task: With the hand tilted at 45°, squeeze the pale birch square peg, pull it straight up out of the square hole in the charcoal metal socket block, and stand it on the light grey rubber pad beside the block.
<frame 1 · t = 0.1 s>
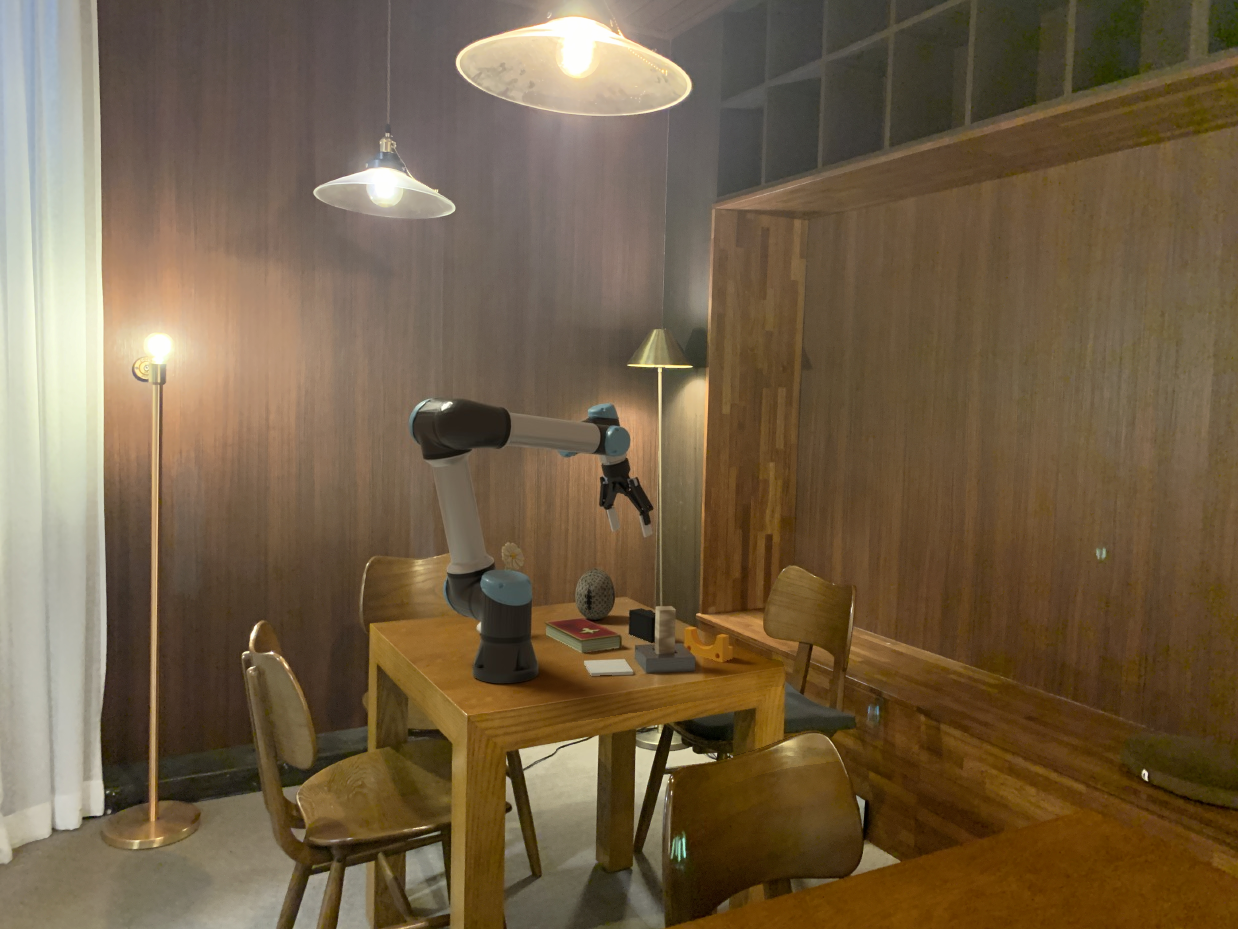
hand: (632, 532, 247), 28 cm above the table, tool tilted 20°, fingers open, 13 cm apart
flower in vase: (500, 634, 244), on the table
pipe clamp: (707, 657, 227), on the table
socket block: (664, 664, 218), on the table
birch peg: (664, 636, 217), in the socket block
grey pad: (608, 669, 213), on the table
decorative egg: (594, 620, 262), on the table
hardcover book: (582, 643, 238), on the table
black rectangular block: (647, 638, 243), on the table
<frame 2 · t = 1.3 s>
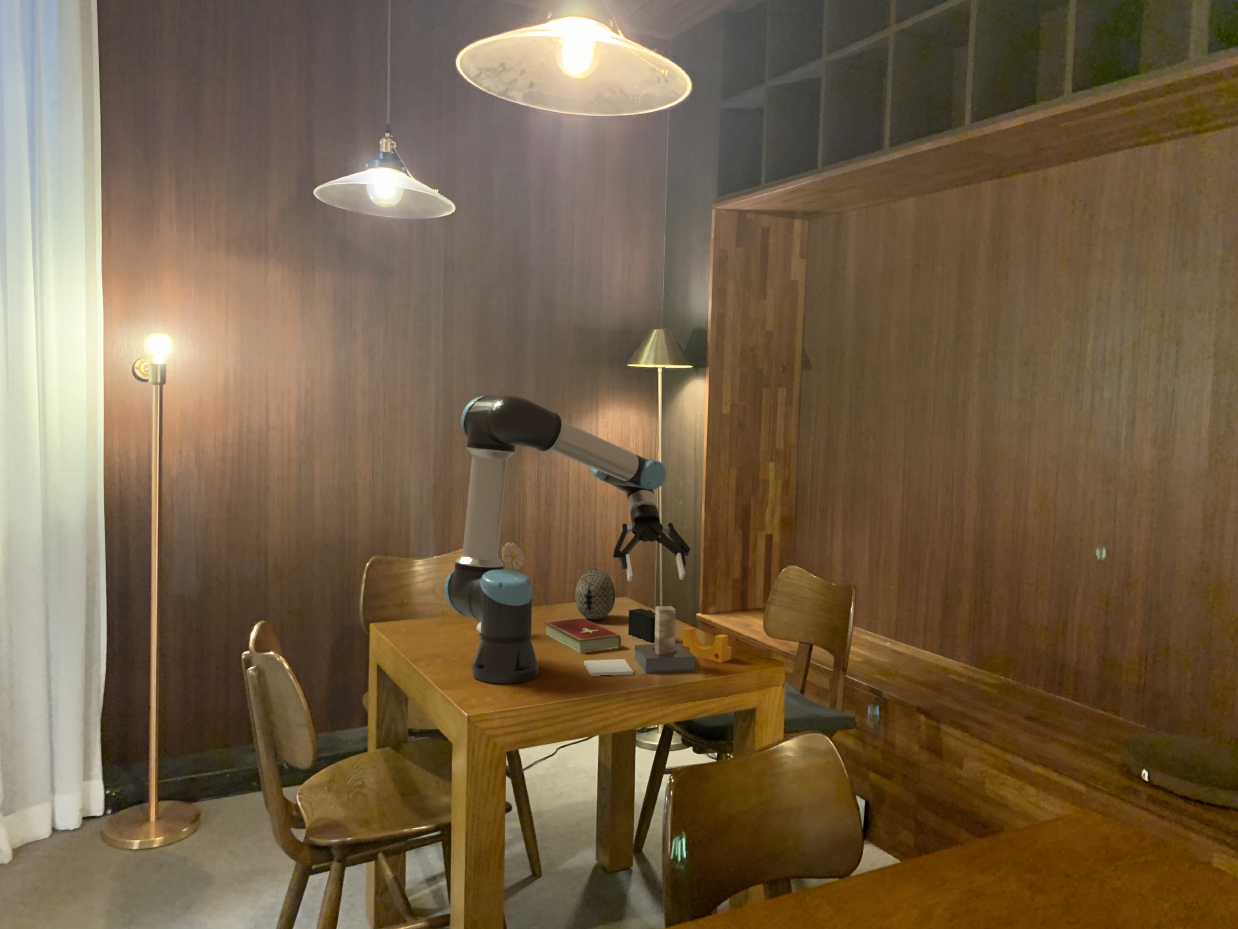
hand: (656, 578, 227), 19 cm above the table, tool tilted 45°, fingers open, 13 cm apart
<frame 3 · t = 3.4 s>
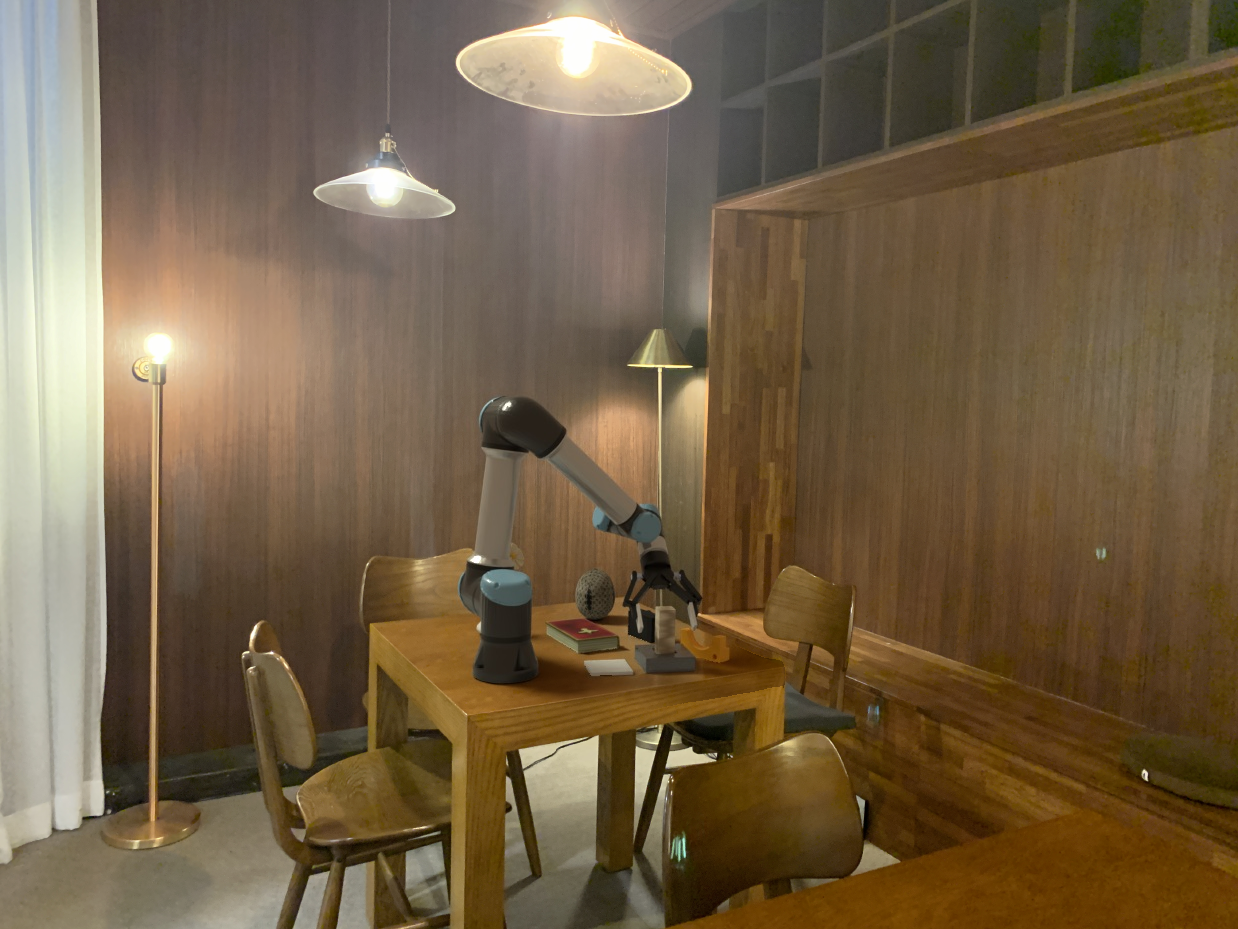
hand: (668, 629, 218), 9 cm above the table, tool tilted 45°, fingers open, 13 cm apart
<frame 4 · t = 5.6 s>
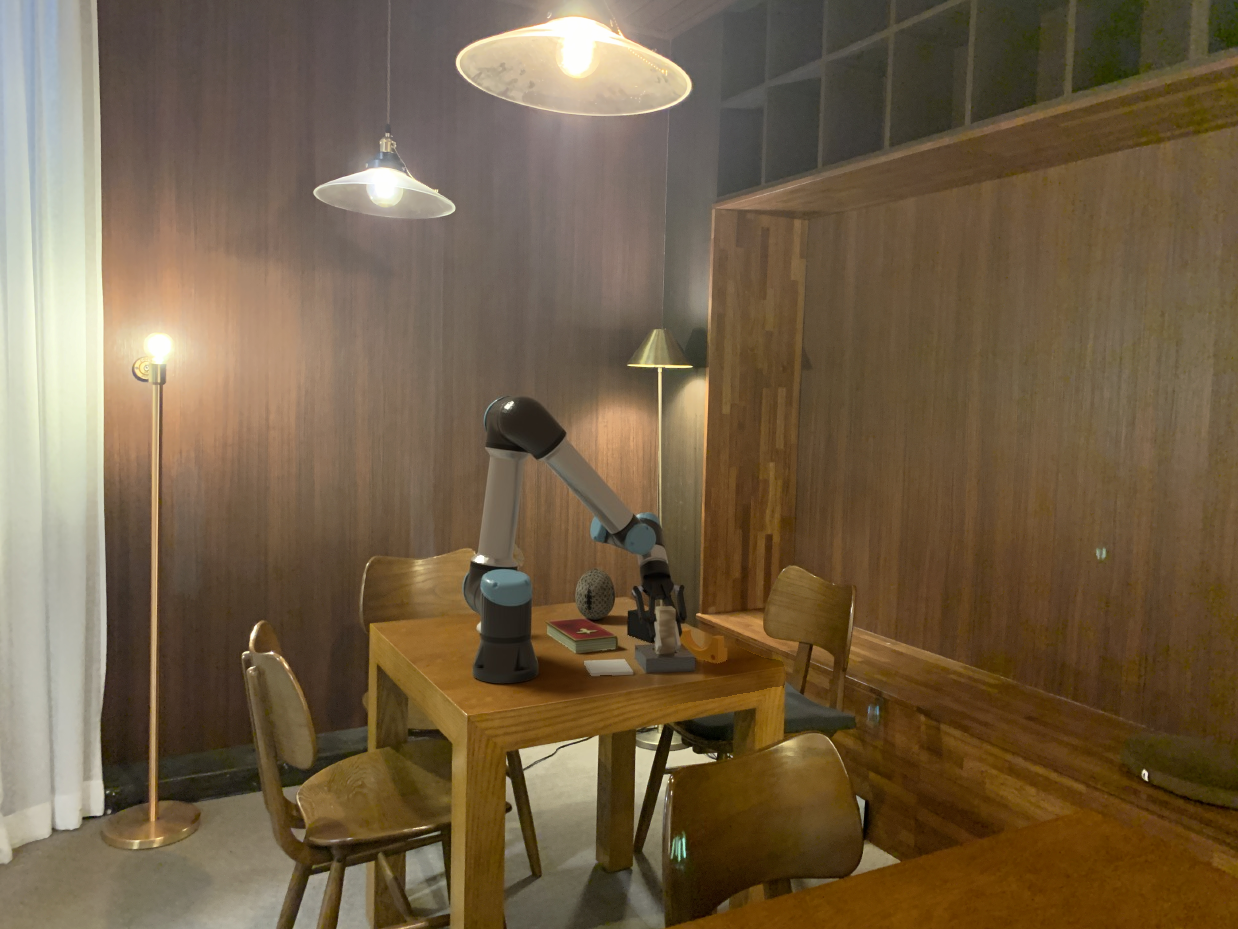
hand: (668, 648, 214), 5 cm above the table, tool tilted 45°, fingers closed on birch peg, 4 cm apart
birch peg: (664, 636, 217), in the socket block, touching gripper
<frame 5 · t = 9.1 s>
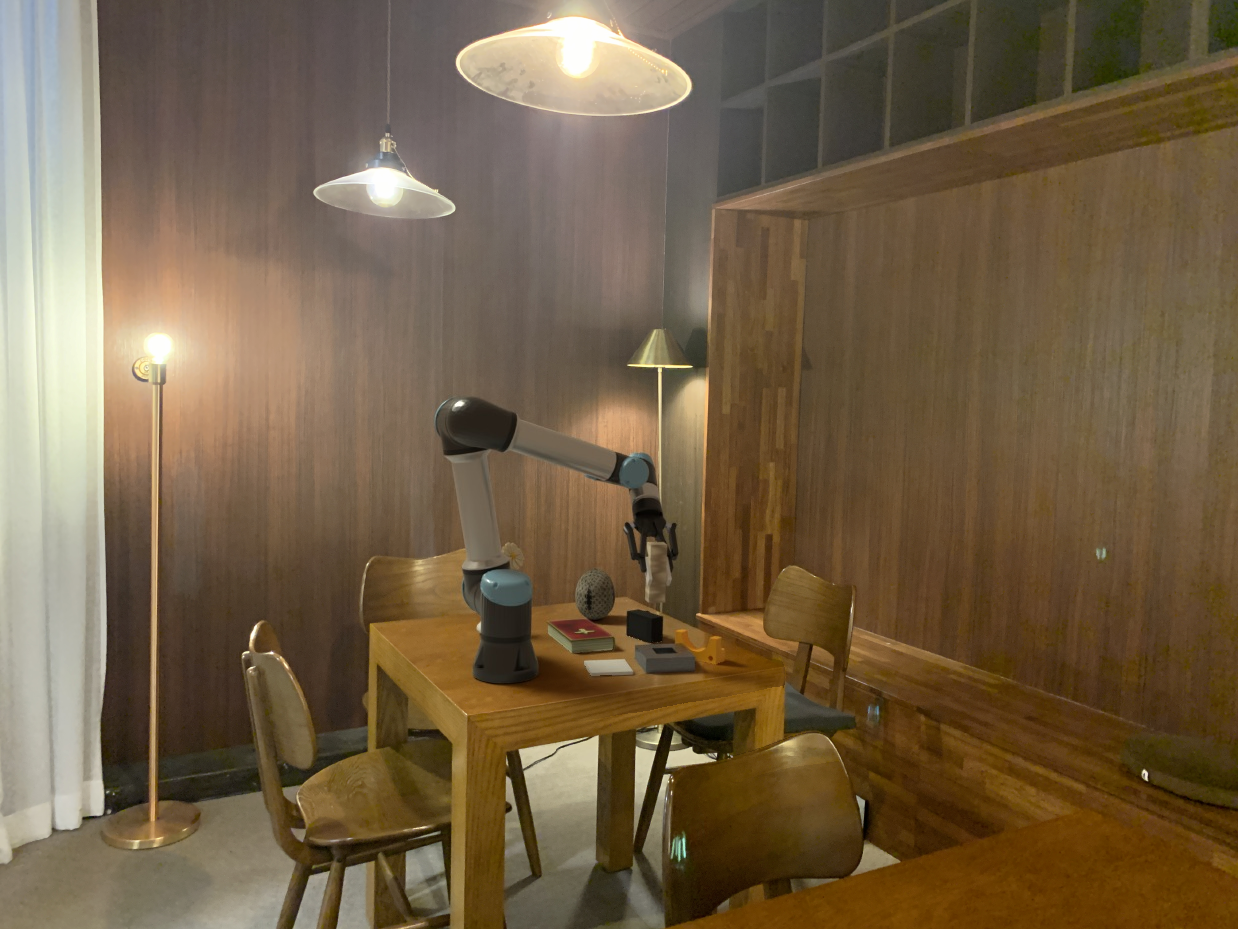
hand: (659, 582, 212), 21 cm above the table, tool tilted 45°, fingers closed on birch peg, 4 cm apart
pipe clamp: (699, 659, 224), on the table
birch peg: (656, 572, 215), point 23 cm above the table, touching gripper
when the fingers open (7 cm above the table, at t = 13.1 s): birch peg drops 1 cm, resting on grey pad.
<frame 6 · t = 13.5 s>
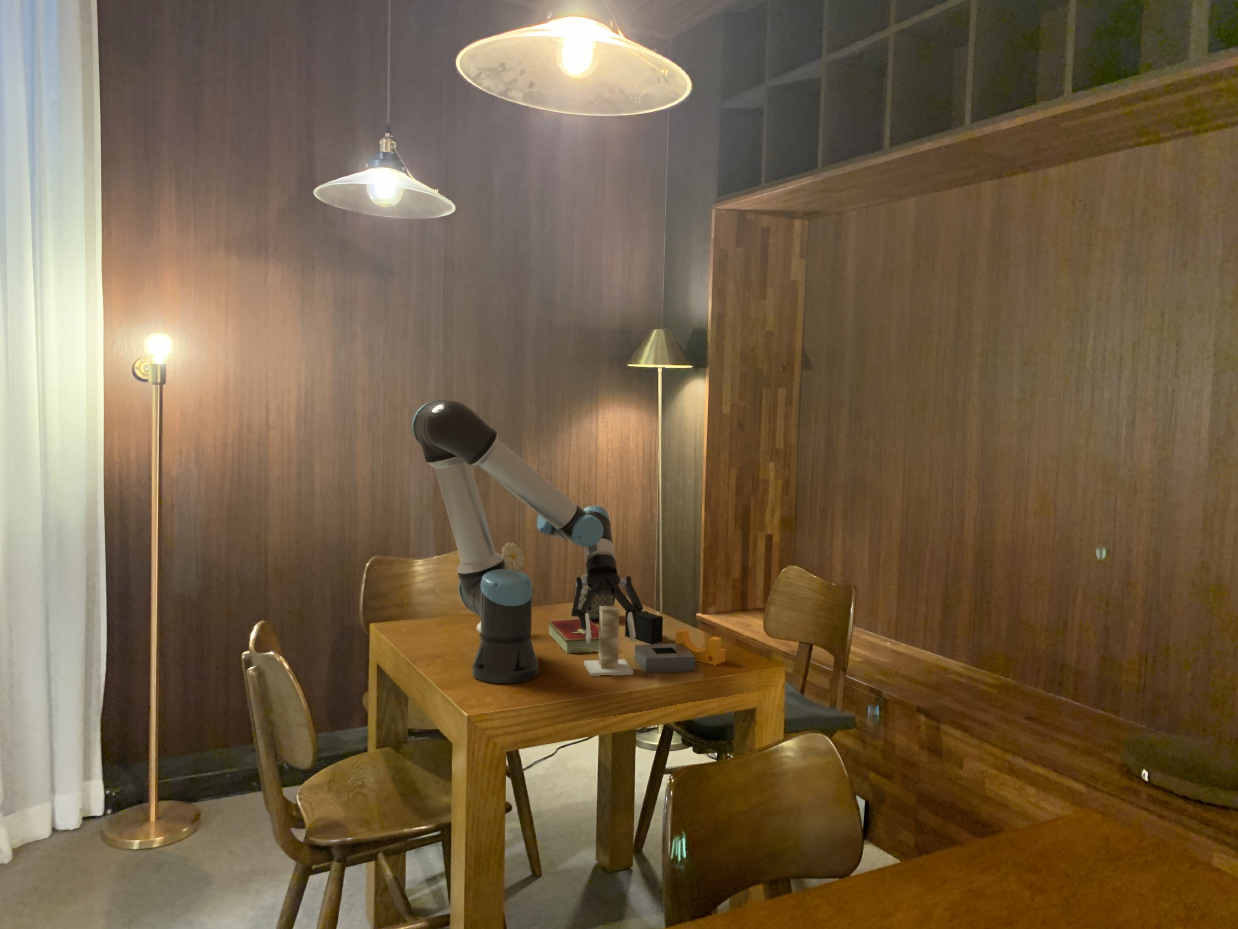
hand: (611, 639, 210), 8 cm above the table, tool tilted 45°, fingers open, 10 cm apart
pipe clamp: (699, 660, 224), on the table, touching socket block
birch peg: (608, 636, 213), on the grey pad, point 8 cm above the table
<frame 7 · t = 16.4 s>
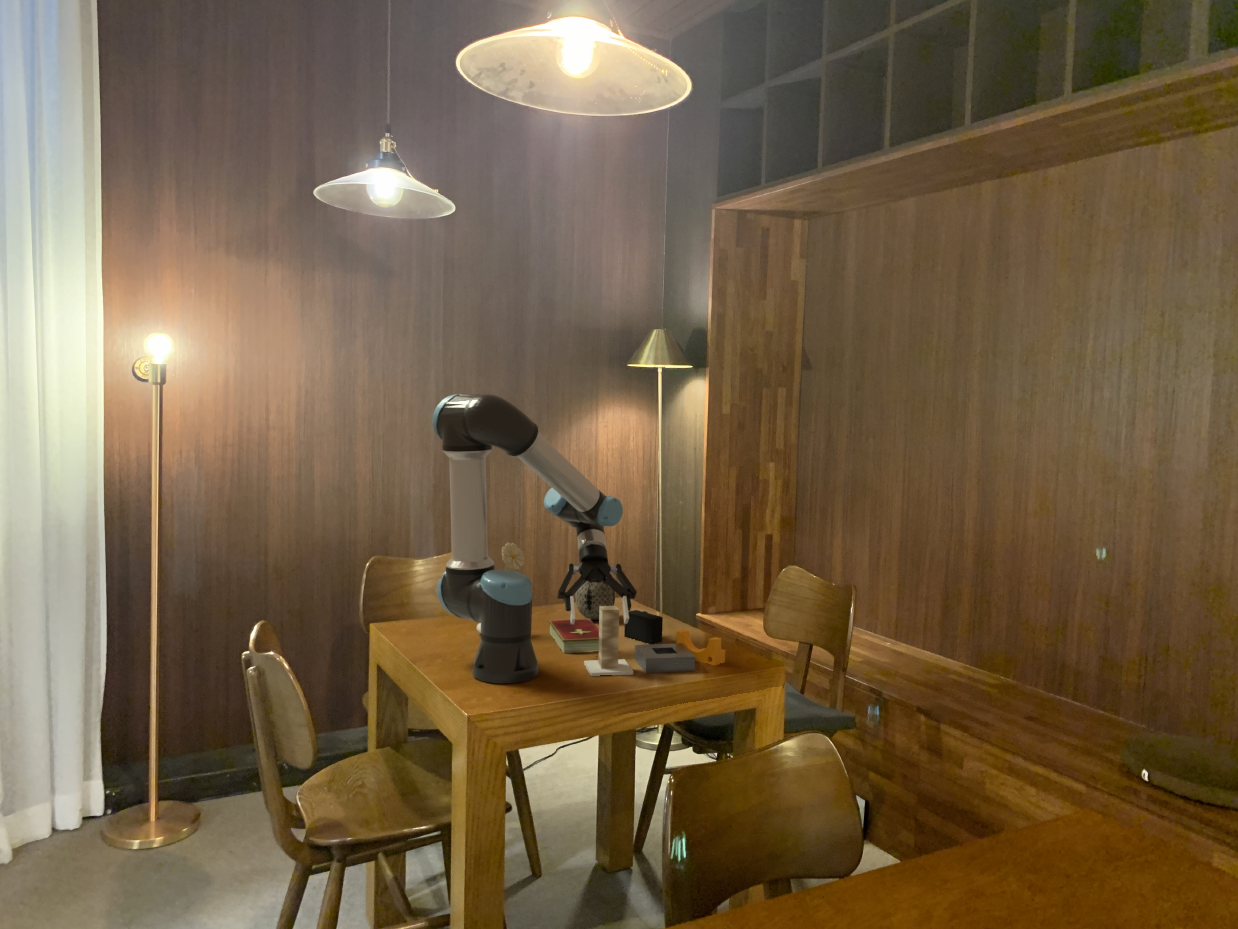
hand: (600, 621, 223), 9 cm above the table, tool tilted 45°, fingers open, 13 cm apart
pipe clamp: (700, 660, 224), on the table
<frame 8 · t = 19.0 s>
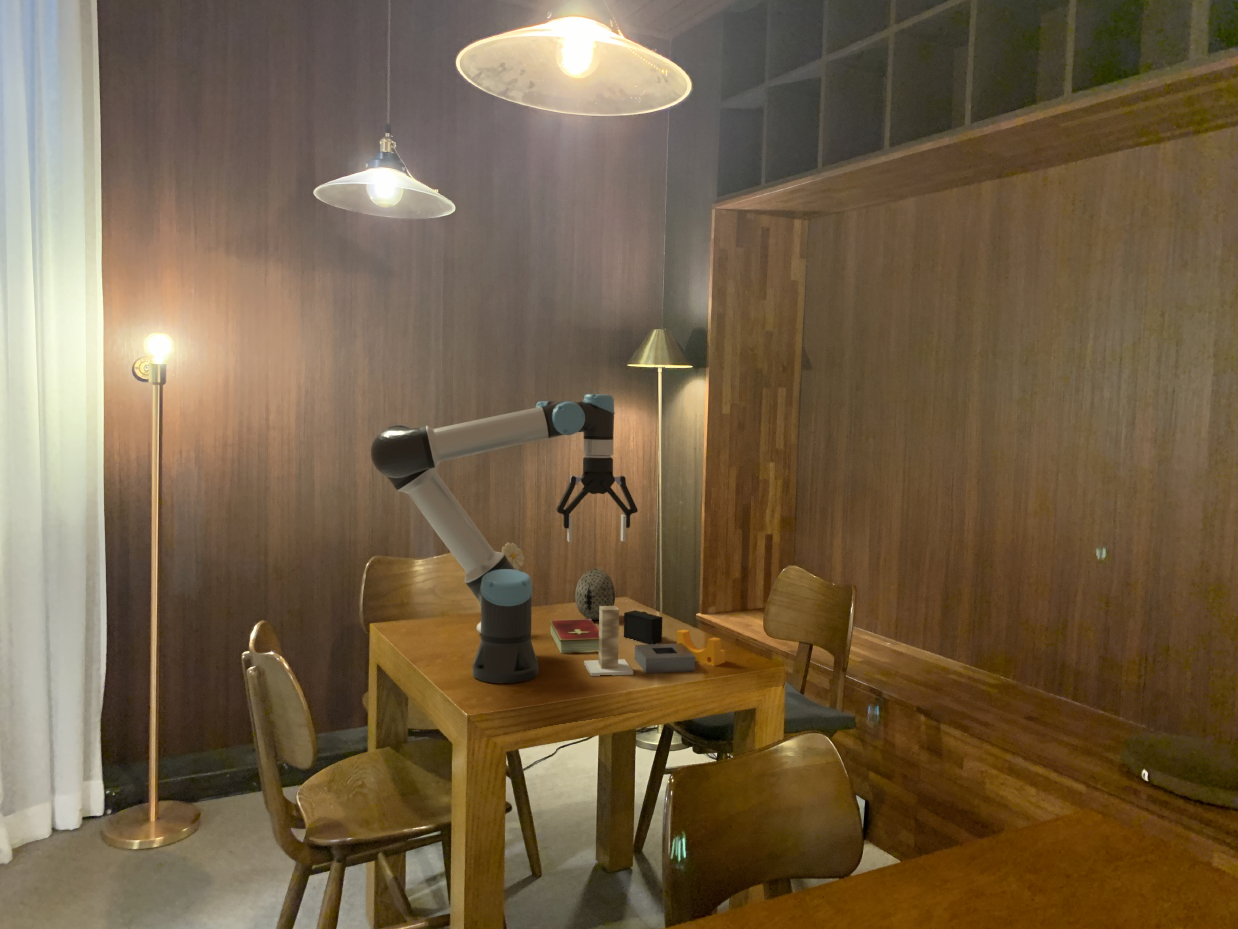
hand: (596, 541, 224), 29 cm above the table, tool pointing down, fingers open, 13 cm apart
at the end: birch peg inside the target area on the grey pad (0.0 cm from its centre), point 7.8 cm above the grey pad's base; birch peg tilted 0°; the gripper is holding nothing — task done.
